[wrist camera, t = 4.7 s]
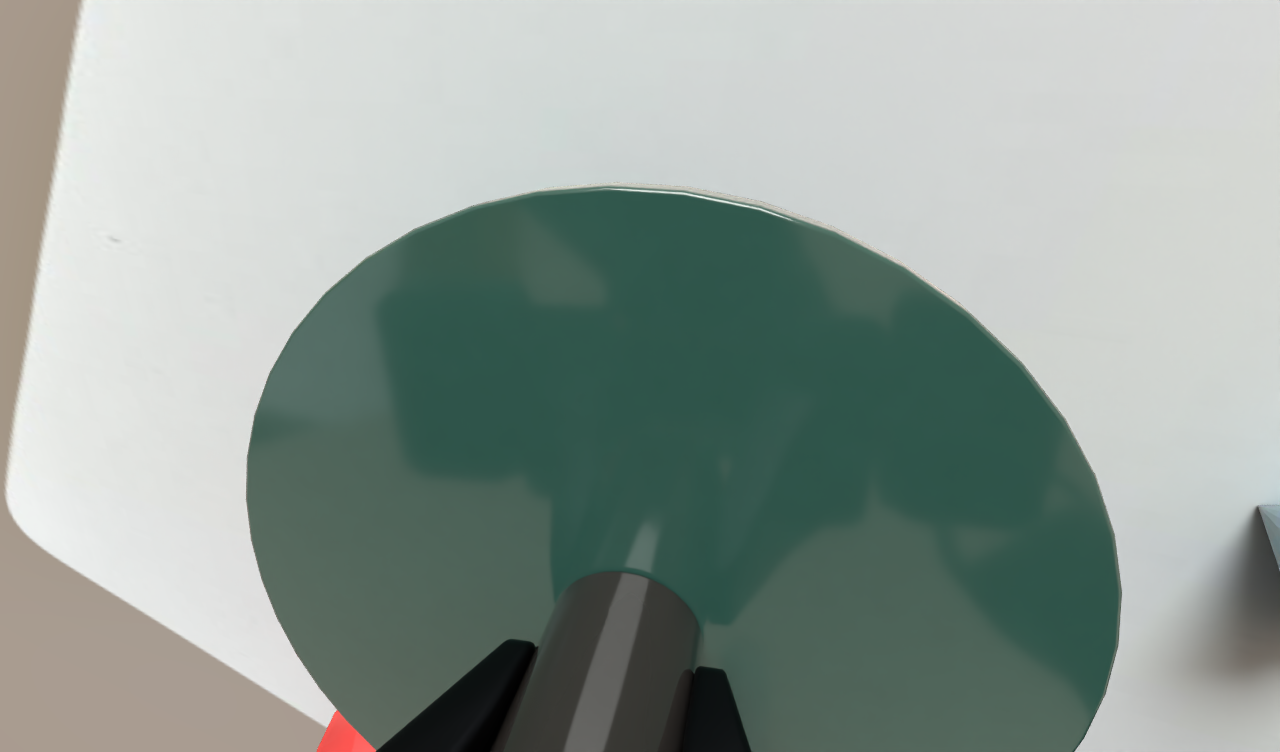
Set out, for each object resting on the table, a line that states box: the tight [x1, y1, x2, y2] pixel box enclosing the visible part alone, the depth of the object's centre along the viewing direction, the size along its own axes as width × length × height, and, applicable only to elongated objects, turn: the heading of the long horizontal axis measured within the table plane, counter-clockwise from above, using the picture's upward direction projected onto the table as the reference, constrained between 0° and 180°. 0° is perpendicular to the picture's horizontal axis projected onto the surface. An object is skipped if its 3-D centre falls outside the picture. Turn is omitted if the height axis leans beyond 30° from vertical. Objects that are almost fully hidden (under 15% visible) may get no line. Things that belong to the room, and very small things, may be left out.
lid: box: [246, 182, 1122, 752], centre depth 8 cm, size 13×13×6 cm
